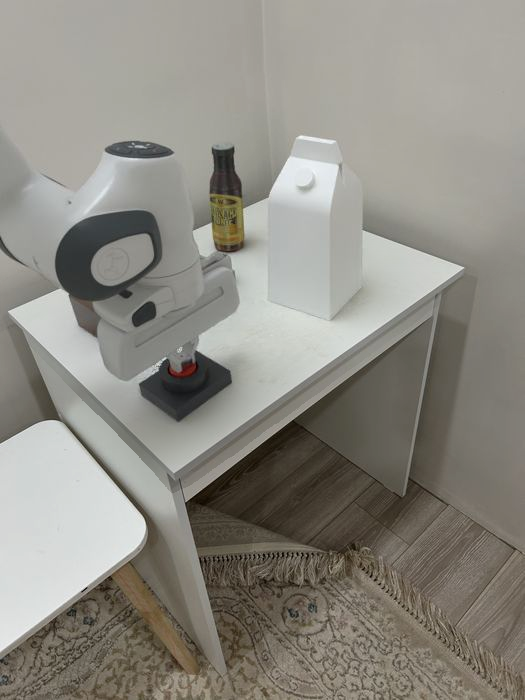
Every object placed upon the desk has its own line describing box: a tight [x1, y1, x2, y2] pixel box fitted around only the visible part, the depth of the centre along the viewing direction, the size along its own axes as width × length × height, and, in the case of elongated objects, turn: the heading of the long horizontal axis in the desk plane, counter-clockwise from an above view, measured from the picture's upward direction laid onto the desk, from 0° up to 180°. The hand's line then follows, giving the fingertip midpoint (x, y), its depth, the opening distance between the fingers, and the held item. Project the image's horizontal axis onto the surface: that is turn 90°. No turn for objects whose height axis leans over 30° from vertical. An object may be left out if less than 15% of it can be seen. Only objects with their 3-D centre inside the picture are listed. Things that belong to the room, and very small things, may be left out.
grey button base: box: [138, 349, 233, 423], centre depth 75 cm, size 10×8×4 cm
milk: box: [267, 135, 364, 322], centre depth 85 cm, size 12×12×26 cm
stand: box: [67, 294, 102, 339], centre depth 88 cm, size 10×10×6 cm
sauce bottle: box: [208, 141, 245, 252], centre depth 102 cm, size 7×6×20 cm
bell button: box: [169, 363, 197, 378], centre depth 75 cm, size 4×4×2 cm
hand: (183, 366), depth 74 cm, fingers closed, pressing on bell button
